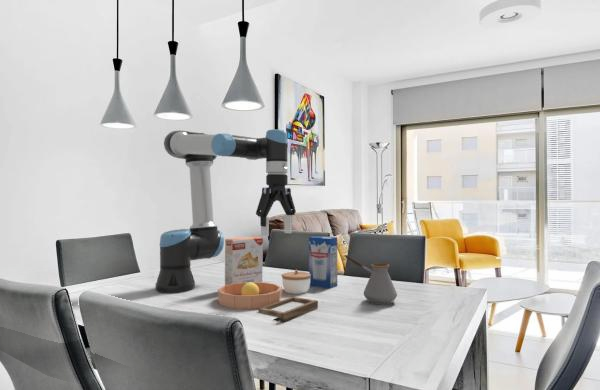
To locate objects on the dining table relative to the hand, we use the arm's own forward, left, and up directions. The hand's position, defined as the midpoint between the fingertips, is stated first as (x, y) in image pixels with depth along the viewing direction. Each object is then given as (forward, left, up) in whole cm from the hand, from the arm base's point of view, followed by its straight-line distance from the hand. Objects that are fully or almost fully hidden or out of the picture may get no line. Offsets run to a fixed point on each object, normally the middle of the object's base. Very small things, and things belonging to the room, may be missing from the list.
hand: (276, 234), depth 142 cm
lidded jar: (0, +11, -24) cm, 26 cm away
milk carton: (0, +30, -24) cm, 38 cm away
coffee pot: (+25, +20, -24) cm, 40 cm away
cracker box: (-19, +3, -24) cm, 30 cm away
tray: (+12, -9, -23) cm, 28 cm away
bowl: (-5, -9, -23) cm, 25 cm away
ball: (-5, -9, -22) cm, 24 cm away
